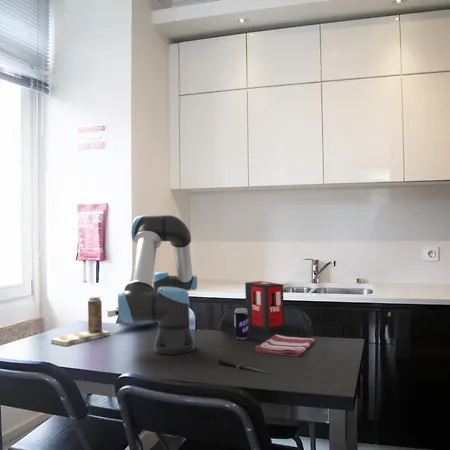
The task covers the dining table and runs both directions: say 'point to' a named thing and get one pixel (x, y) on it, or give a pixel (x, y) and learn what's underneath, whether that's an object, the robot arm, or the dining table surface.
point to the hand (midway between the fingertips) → (108, 313)
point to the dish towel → (285, 345)
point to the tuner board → (79, 337)
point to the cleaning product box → (265, 305)
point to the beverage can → (241, 323)
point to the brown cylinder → (94, 314)
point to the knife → (242, 366)
